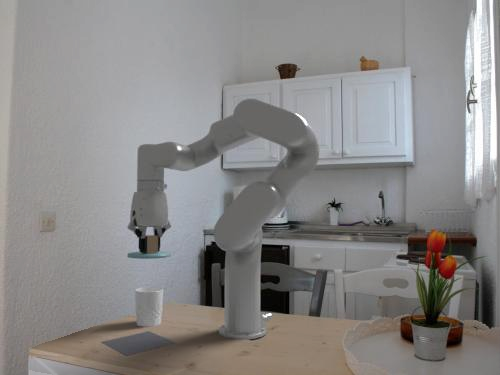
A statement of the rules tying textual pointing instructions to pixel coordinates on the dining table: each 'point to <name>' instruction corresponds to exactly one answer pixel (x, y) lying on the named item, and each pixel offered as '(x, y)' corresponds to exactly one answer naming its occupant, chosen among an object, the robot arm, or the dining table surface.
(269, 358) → the dining table surface
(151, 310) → the white cup
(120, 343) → the mat
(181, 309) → the dining table surface
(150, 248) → the lid
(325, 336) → the dining table surface
